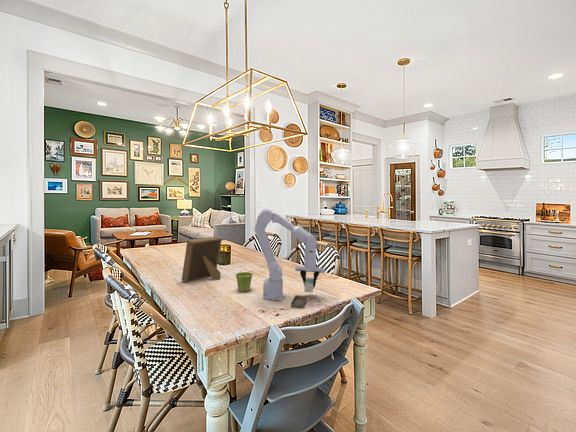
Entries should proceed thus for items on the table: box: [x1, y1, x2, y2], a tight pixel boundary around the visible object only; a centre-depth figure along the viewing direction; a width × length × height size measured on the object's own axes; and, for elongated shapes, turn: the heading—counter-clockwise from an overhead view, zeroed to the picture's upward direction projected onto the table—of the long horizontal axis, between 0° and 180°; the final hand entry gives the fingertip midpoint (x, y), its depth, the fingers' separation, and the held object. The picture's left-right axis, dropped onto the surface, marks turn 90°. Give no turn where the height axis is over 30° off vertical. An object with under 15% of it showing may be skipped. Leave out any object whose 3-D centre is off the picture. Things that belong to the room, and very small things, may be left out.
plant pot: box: [234, 271, 254, 293], centre depth 159 cm, size 9×9×9 cm
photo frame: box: [181, 235, 222, 283], centre depth 178 cm, size 15×22×25 cm
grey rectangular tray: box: [290, 294, 308, 309], centre depth 140 cm, size 6×11×2 cm, turn 168°
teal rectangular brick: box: [303, 277, 316, 294], centre depth 149 cm, size 4×8×5 cm, turn 168°
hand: (309, 286), depth 149 cm, fingers closed on teal rectangular brick, 4 cm apart
